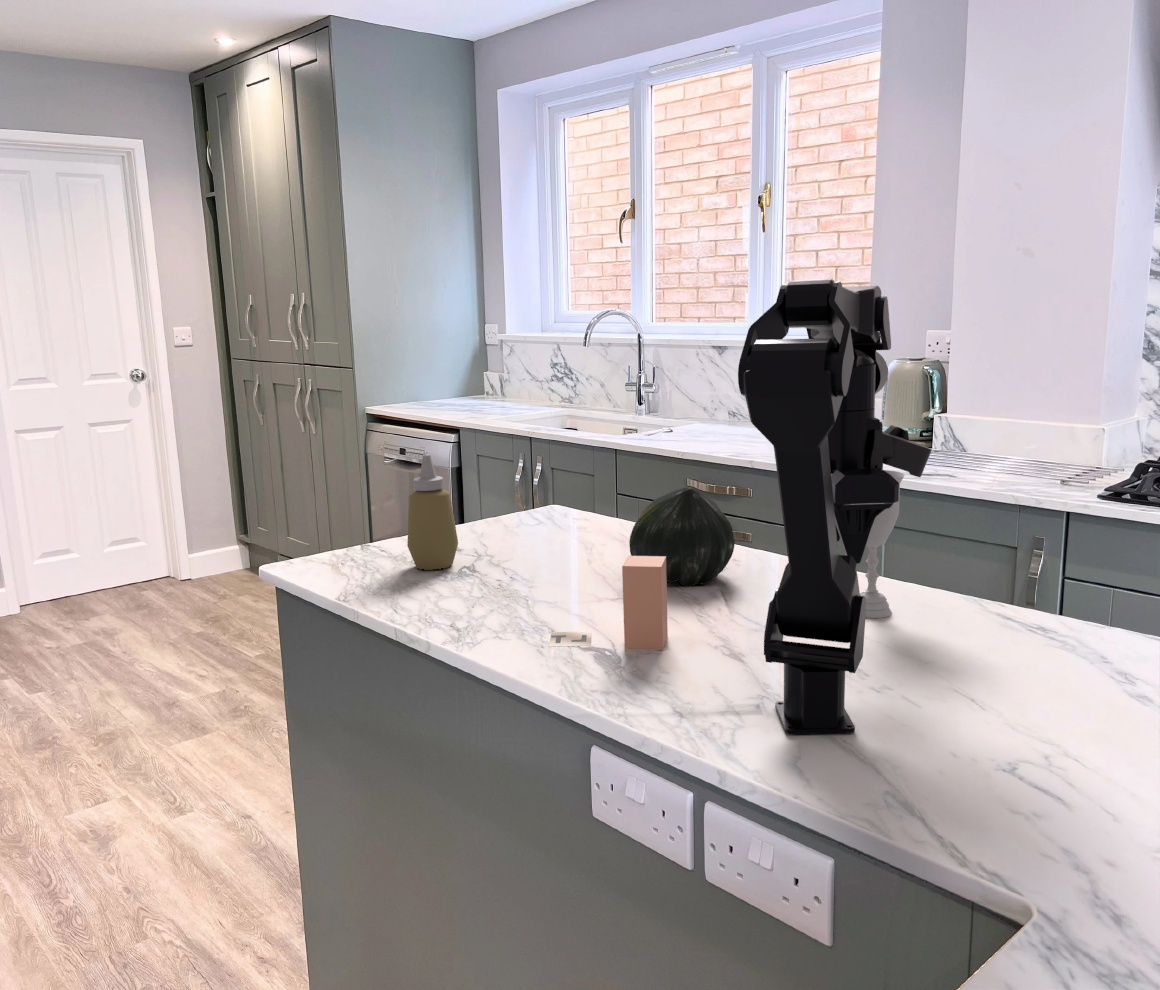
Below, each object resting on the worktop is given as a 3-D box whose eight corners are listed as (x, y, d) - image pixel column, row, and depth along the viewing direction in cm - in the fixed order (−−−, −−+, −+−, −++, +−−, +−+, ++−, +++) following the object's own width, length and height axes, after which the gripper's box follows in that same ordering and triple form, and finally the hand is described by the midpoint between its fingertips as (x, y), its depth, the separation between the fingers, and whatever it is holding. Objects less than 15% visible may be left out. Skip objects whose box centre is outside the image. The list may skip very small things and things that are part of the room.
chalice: (860, 623, 119) (863, 481, 116) (832, 607, 126) (834, 472, 122) (911, 616, 121) (916, 476, 118) (881, 600, 128) (884, 468, 124)
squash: (646, 526, 151) (633, 467, 140) (741, 532, 147) (736, 473, 136) (630, 604, 143) (616, 548, 132) (731, 612, 139) (724, 556, 128)
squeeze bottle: (403, 564, 155) (394, 454, 152) (451, 557, 159) (443, 449, 155) (416, 576, 148) (408, 461, 145) (466, 568, 151) (459, 456, 148)
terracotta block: (663, 650, 111) (661, 566, 109) (624, 648, 111) (622, 566, 110) (667, 636, 115) (665, 556, 113) (630, 635, 116) (628, 555, 114)
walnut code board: (669, 659, 110) (668, 652, 110) (547, 662, 110) (547, 655, 110) (665, 635, 118) (665, 629, 118) (551, 638, 118) (551, 631, 118)
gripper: (955, 416, 91) (949, 573, 94) (897, 396, 109) (893, 529, 112) (837, 420, 92) (835, 577, 95) (799, 400, 110) (798, 532, 113)
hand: (843, 551), depth 104 cm, fingers open, 9 cm apart
